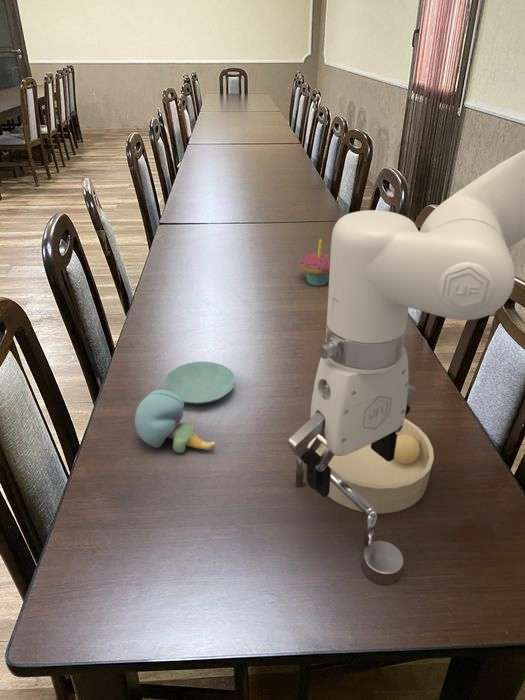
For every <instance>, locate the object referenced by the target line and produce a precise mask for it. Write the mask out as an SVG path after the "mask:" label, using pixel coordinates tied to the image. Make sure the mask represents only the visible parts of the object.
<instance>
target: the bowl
mask: <svg viewBox="0 0 525 700" xmlns="http://www.w3.org/2000/svg"><path fill="white" fill-rule="evenodd" d="M396 434H397V436H398V435H402V434H407V435H410V436H412V437H414V438H415V439H416V440H417V442H418V443H419V447H420V453H419V456H418V457H417V459H416V460H414V461H413V462H411V463H400V462H398V461H397V460H395V459H393V460H392V461H390V462H388V461H386V460H385V459H384V458H382V457H381V456H380V455H378V454H377V453H376V452H375V451H373V450H372V449H371V444H369V445H367V446H365V447H363V448H361V449H359V450H357V451H355V452H353V453H350V454H348V455H345V456H336V455H334V456H333V458H332V459H331V461H330V462H329V464H328V466H329V467H330V468H332V469H333V470H334V471H335V472H336V473H337V474H338V475H339V476H340V477H341V478H342V479H344V480H345V481H346V482H347V483H348V484H349V485H350V486H351V487H352V488H353V489H355V490H356V491H357V492H358V493H359V494H360V495H361V496H362V497H363V498H364V499H365V500H367V501H368V502H369V503H370V504H371V505H372V506H373V507H374V508H375V510H376V511H377V515H378V514H379V515H381V514H393V513H398V512H401V511H403V510H406V509H408V508H410V507H412V506H414V505H415V504H417V503H418V502H419V501H420V500H421V499H422V497H423V496H424V494H425V493H426V491H427V489H428V485H429V481H430V478H431V474H432V470H433V465H434V461H435V455H434V447H433V445H432V443H431V441H430V439H429V437H428V436H427V434H425V432H424V431H423V430H422V429H421V428H420V427H419V426H417V425H416V424H415V423H413V422H412V421H410V420H409V419H407V418H406V417H405V418H404V422H403V427H402V429H401V431H400V432H398V433H396ZM325 449H326V446H325V445H324V444H323V443H322V442H321V444H320V445H319V447H318V449H317V450H316V452H317V453H318V454H319V455H320V456H321V455H322V453H323V452H324V450H325ZM326 497H328V498H330V499H331V500H332V501H334V502H336V503H338V504H339V505H341V506H343V507H346V508H348V509H350V510H354V511H357V512H361V513H364V512H363V511H362V510H361V509H360V508H359V507H357V506H356V505H355V504H354V503H353V502H352V501H351V500H350V499H349V498H348V497H347V496H346V495H345V494H344V493H343V492H342V491H340V490H339V489H338V488H337V487H336V486H335V485H334V484H333V483H332V482H331V481H330V490H329V495H327V496H326Z"/></svg>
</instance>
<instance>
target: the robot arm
mask: <svg viewBox="0 0 525 700" xmlns="http://www.w3.org/2000/svg"><path fill="white" fill-rule="evenodd" d="M524 239H525V149H523V150H522V151H520V152H518V153H515V154H514V155H512V156H510V157H509V158H507V159H505V160H504V161H502V162H500V163H498V164H497V165H496V166H494V167H492V168H491V169H489V170H488V171H486V172H485V173H483V174H481V175H480V176H478V177H477V178H475V180H473V181H472V182H470V183H468V184H467V185H465V186H464V187H463V188H461V189H460V190H458V191H457V192H455V193H453V194H452V195H451V196H449V197H448V198H447V199H445V200H443V201H442V202H441V203H439V205H438V206H436V208H434V209H433V211H432V212H430V213H429V215H428V216H427V217H426V218H425V220H424V222H423V223H422V225H421V226H420V230H419V229H418V228H417V226H416V224H415V222H414V221H413V220H412V219H410V218H409V217H407V216H406V215H403V214H401V213H397V212H393V211H388V210H378V209H374V210H373V209H370V210H369V209H367V210H366V209H365V210H359V211H354V212H350V213H347V214H344V216H342V217H340V218H338V220H336V222H335V224H334V227H333V228H332V232H331V240H330V241H331V242H330V256H331V257H330V274H329V279H328V291H327V292H328V293H327V295H328V297H327V313H326V325H325V326H326V327H325V329H326V330H325V343H324V344H321V345H320V346H319V347H318V353H319V355H320V359H319V362H318V366H317V370H316V374H315V380H314V384H313V390H312V395H311V403H310V416H309V417H310V418H309V419H308V420H307V421H306V422H305V423H304V424H302V426H301V427H300V428H299V429H297V430H296V432H294V433H293V434H292V435H291V436H290V437H289V438H288V440H287V444H288V446H289V447H290V449H291V450H292V452H293V453H294V455H295V456H296V458H297V457H299V458H300V459H301V460H302V461H303V462H304V465H306V477H305V478H306V482H307V484H308V486H309V487H310V488H311V489H313V490H315V491H316V492H317V493H318V494H319V495H320V496H321V497H322V498H326V497H328V496H327V495H329V490H330V477H331V469H330V467H329V466H328V464H329V462H330V461H331V459H332V458H333V456H334V455H336V456H345V455H348V454H350V453H353V452H355V451H357V450H359V449H361V448H363V447H365V446H367V445H369V444H371V449H372V450H373V451H375V452H376V453H377V454H378V455H380V456H381V457H382V458H384V459H385V460H386V461H388V462H390V461H392V460H393V459H394V454H395V447H396V441H397V434H396V433H398V432H400V431H401V429H402V427H403V422H404V418H405V419H406V417H407V415H408V414H409V413H410V410H411V406H410V405H412V403H413V401H414V399H415V397H416V395H417V393H418V388H415V387H414V386H412V385H411V384H409V378H410V377H409V375H410V374H409V357H408V353H407V348H406V347H405V346H404V343H405V337H406V330H407V322H408V315H409V309H413V310H417V311H421V312H424V313H428V314H431V315H434V316H437V317H442V318H446V319H450V320H459V321H470V320H471V321H472V320H478V319H483V318H485V317H488V316H491V315H492V314H494V313H496V312H497V311H498V310H499V309H501V308H502V307H503V306H504V305H505V304H506V302H507V301H508V300H509V298H510V297H511V295H512V293H513V289H514V286H515V282H516V281H515V279H516V274H515V265H514V262H513V259H512V256H511V253H510V251H509V248H511V247H513V246H514V245H515V244H518V243H519V242H521V241H522V240H524ZM321 442H322V443H323V444H324V445H325V446H326V449H325V450H324V452H323V453H322V455H321V456H320V455H319V454H318V453H317V452H316V450H317V449H318V447H319V445H320V444H321Z"/></svg>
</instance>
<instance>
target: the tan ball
mask: <svg viewBox="0 0 525 700" xmlns="http://www.w3.org/2000/svg"><path fill="white" fill-rule="evenodd" d="M419 453H420V447H419V443H418V442H417V440H416V439H415V438H414V437H412V436H410V435H407V434H402V435H398V436H397V441H396V447H395V454H394V459H395V460H397V461H398V462H400V463H411V462H413V461H414V460H416V459H417V457H418V456H419Z"/></svg>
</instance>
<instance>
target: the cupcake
mask: <svg viewBox="0 0 525 700" xmlns="http://www.w3.org/2000/svg"><path fill="white" fill-rule="evenodd" d="M322 244H323V239H322V236H320V238H319V239H318V248H317V251H313V252H310V253H308V254H306V255H304V256H303V257H302V258H300V262H299V268H300V269H301V270H303V273H304V274H305V277H306V282H307V283H308V284H309V285H311V286H317V287H320V286H321V287H322V286H325V285H326V284H328V283H329V274H330V257H331V255H330V254H326V253H325V252H322Z"/></svg>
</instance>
